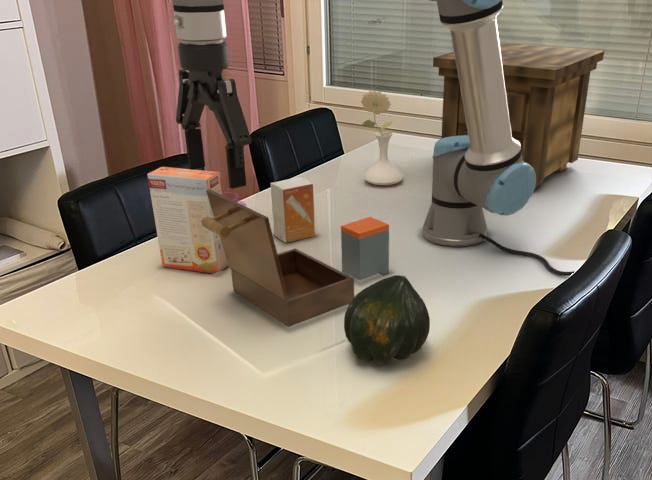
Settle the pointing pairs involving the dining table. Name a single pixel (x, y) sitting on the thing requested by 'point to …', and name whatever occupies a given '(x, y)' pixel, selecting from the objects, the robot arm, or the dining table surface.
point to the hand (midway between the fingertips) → (217, 177)
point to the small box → (293, 209)
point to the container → (365, 248)
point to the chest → (299, 289)
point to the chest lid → (246, 242)
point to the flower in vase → (380, 142)
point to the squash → (387, 321)
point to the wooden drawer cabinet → (533, 101)
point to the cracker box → (186, 219)
